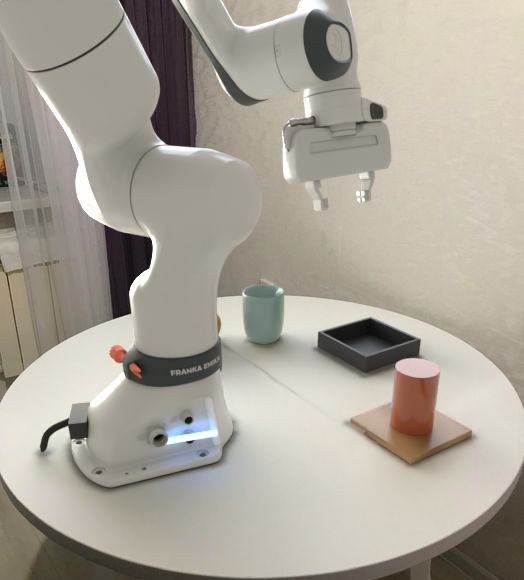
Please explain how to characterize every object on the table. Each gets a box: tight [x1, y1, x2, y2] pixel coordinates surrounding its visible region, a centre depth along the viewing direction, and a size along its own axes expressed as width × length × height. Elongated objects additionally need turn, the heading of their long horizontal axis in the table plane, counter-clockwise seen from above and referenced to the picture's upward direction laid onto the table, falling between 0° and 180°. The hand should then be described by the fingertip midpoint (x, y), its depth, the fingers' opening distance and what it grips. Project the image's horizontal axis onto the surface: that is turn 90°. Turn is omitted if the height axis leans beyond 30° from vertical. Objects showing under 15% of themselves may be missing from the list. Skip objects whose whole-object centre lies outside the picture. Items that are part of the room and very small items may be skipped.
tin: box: [317, 316, 422, 374], centre depth 107 cm, size 13×13×4 cm
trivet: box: [350, 401, 473, 465], centre depth 84 cm, size 12×12×1 cm
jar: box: [390, 357, 441, 435], centre depth 82 cm, size 6×6×9 cm
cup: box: [241, 284, 285, 345], centre depth 111 cm, size 8×8×10 cm
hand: (343, 206), depth 94 cm, fingers open, 8 cm apart
